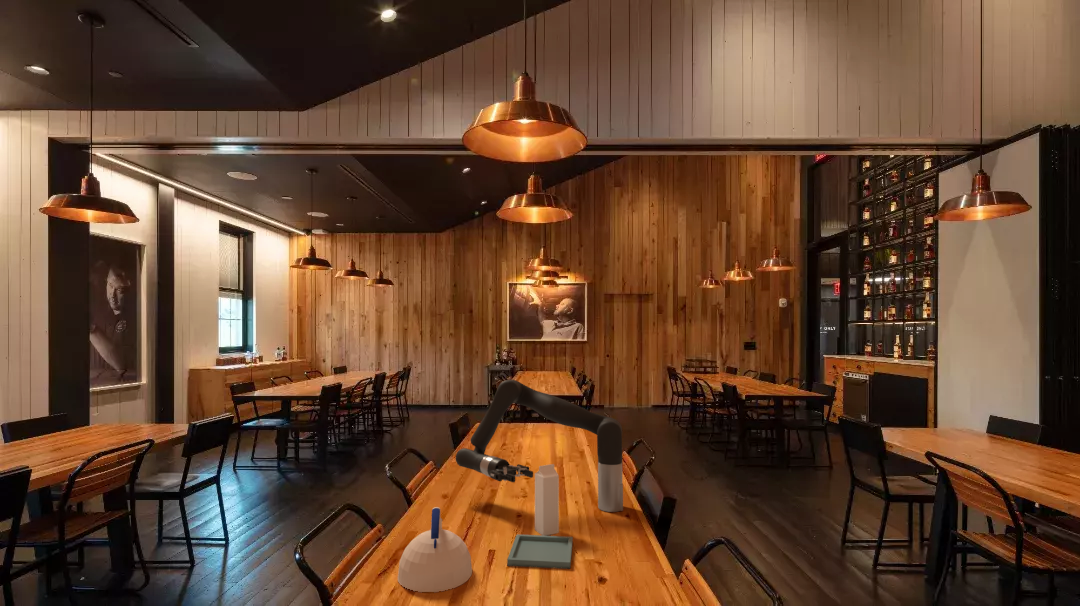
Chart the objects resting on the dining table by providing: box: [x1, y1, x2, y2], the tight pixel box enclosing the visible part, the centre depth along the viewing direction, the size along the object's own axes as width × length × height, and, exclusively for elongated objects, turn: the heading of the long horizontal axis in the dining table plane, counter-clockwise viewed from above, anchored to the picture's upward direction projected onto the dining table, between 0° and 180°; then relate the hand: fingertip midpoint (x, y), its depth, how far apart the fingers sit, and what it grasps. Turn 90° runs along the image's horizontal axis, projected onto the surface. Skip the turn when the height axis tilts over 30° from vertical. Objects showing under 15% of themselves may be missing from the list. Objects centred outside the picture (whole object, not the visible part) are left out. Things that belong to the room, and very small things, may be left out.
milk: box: [534, 463, 560, 536], centre depth 172 cm, size 6×6×22 cm
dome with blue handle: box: [397, 506, 473, 593], centre depth 142 cm, size 20×21×18 cm
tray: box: [506, 534, 574, 570], centre depth 155 cm, size 18×18×2 cm
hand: (523, 477), depth 181 cm, fingers open, 8 cm apart
